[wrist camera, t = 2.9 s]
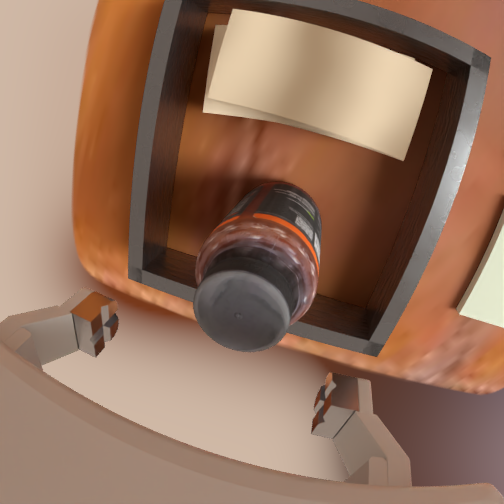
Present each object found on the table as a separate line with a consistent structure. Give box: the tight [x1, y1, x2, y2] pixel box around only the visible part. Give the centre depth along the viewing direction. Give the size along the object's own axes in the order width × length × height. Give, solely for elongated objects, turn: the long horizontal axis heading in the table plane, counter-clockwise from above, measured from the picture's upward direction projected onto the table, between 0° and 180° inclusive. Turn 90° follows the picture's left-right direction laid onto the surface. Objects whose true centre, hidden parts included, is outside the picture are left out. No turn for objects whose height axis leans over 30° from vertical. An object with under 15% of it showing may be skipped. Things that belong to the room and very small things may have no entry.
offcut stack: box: [203, 9, 433, 161], centre depth 15 cm, size 12×6×6 cm, turn 78°
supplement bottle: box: [193, 182, 321, 352], centre depth 17 cm, size 6×6×11 cm
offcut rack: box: [128, 0, 491, 357], centre depth 18 cm, size 19×21×4 cm
